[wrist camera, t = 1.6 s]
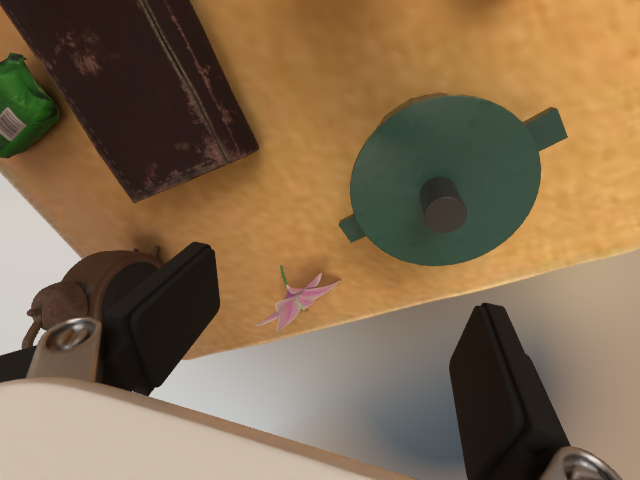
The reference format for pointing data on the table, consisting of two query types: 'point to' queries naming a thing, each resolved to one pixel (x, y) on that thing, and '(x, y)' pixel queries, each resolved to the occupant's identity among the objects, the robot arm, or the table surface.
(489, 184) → the pot lid
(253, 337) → the table surface
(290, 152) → the table surface
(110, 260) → the alarm clock
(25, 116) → the snack package
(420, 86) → the table surface
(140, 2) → the diary
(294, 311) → the lily
